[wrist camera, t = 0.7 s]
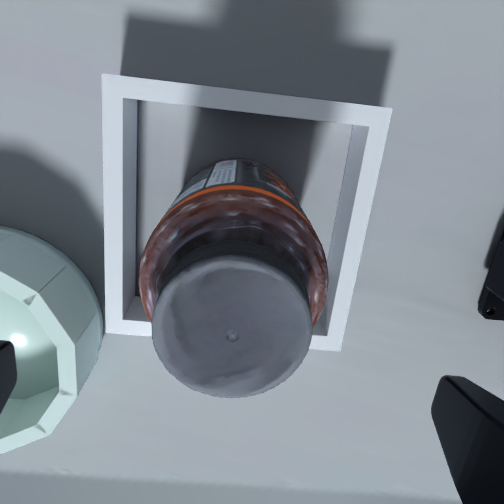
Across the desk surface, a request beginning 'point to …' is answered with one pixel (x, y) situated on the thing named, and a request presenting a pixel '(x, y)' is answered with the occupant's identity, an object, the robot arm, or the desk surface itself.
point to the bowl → (44, 334)
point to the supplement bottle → (233, 281)
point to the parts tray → (133, 89)
